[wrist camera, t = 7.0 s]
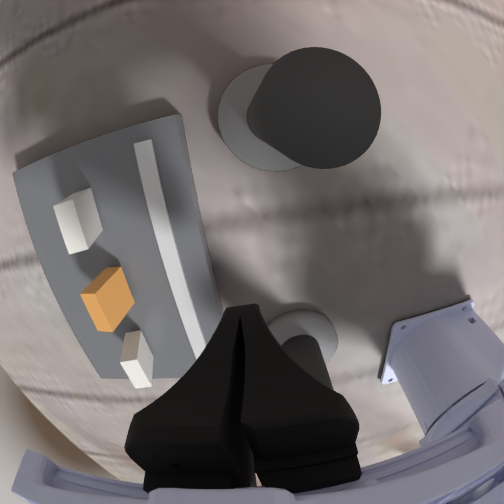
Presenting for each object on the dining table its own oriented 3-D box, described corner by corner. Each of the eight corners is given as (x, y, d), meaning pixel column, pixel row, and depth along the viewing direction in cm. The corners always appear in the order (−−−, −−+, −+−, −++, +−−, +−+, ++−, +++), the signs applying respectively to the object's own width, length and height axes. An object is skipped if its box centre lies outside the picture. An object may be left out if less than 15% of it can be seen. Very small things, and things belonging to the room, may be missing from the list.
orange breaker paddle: (121, 266, 16) (95, 293, 14) (134, 302, 17) (113, 332, 15) (106, 267, 16) (79, 293, 14) (120, 302, 18) (97, 330, 15)
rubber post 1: (317, 64, 14) (409, 7, 5) (329, 162, 16) (429, 214, 7) (211, 75, 14) (174, 10, 5) (228, 175, 16) (215, 245, 7)
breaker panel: (181, 114, 15) (175, 114, 13) (235, 359, 22) (235, 374, 21) (25, 168, 15) (10, 173, 13) (106, 366, 22) (100, 379, 21)
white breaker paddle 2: (140, 330, 19) (136, 359, 16) (153, 356, 20) (151, 386, 17) (125, 332, 18) (119, 362, 16) (138, 359, 19) (135, 388, 17)
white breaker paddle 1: (91, 187, 14) (72, 199, 12) (102, 229, 15) (88, 249, 13) (73, 193, 14) (53, 206, 11) (85, 234, 15) (69, 254, 13)
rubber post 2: (335, 303, 20) (386, 415, 11) (333, 359, 23) (367, 460, 14) (253, 317, 20) (263, 441, 11) (263, 371, 23) (274, 479, 14)
